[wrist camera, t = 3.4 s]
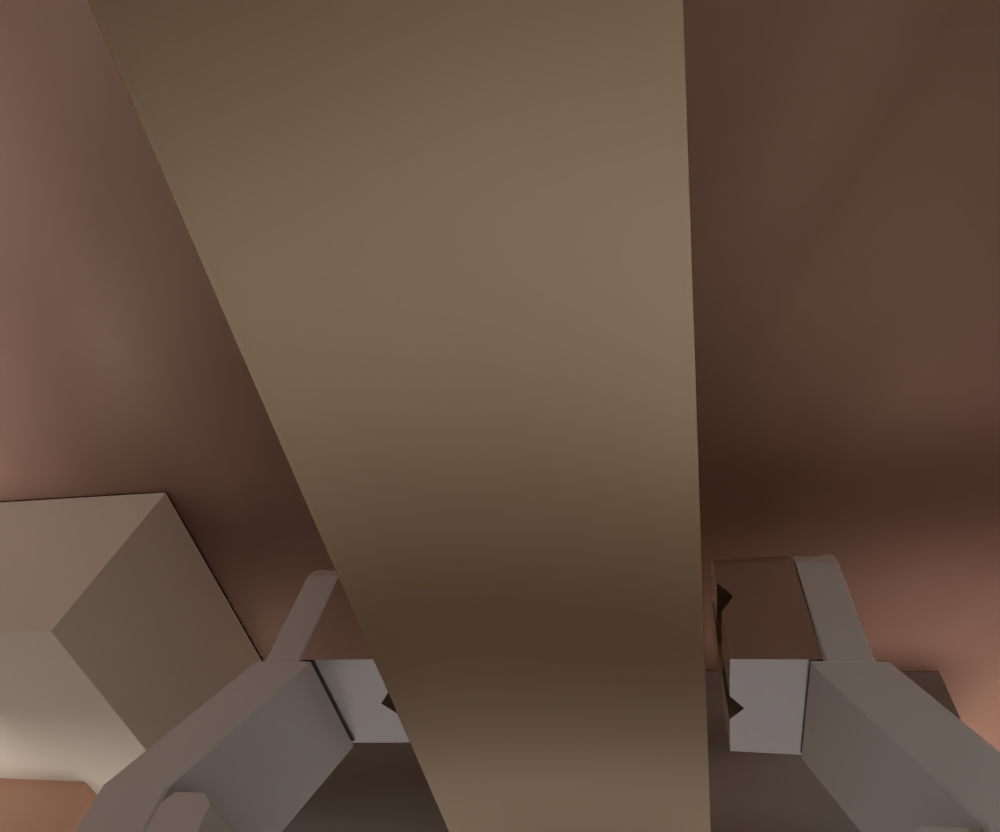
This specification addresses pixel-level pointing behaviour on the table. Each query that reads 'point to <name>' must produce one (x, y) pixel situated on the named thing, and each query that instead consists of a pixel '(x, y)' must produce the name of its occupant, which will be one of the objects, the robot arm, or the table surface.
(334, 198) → the scraper
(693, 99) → the table surface
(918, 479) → the table surface
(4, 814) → the tile
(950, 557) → the table surface
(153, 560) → the board
